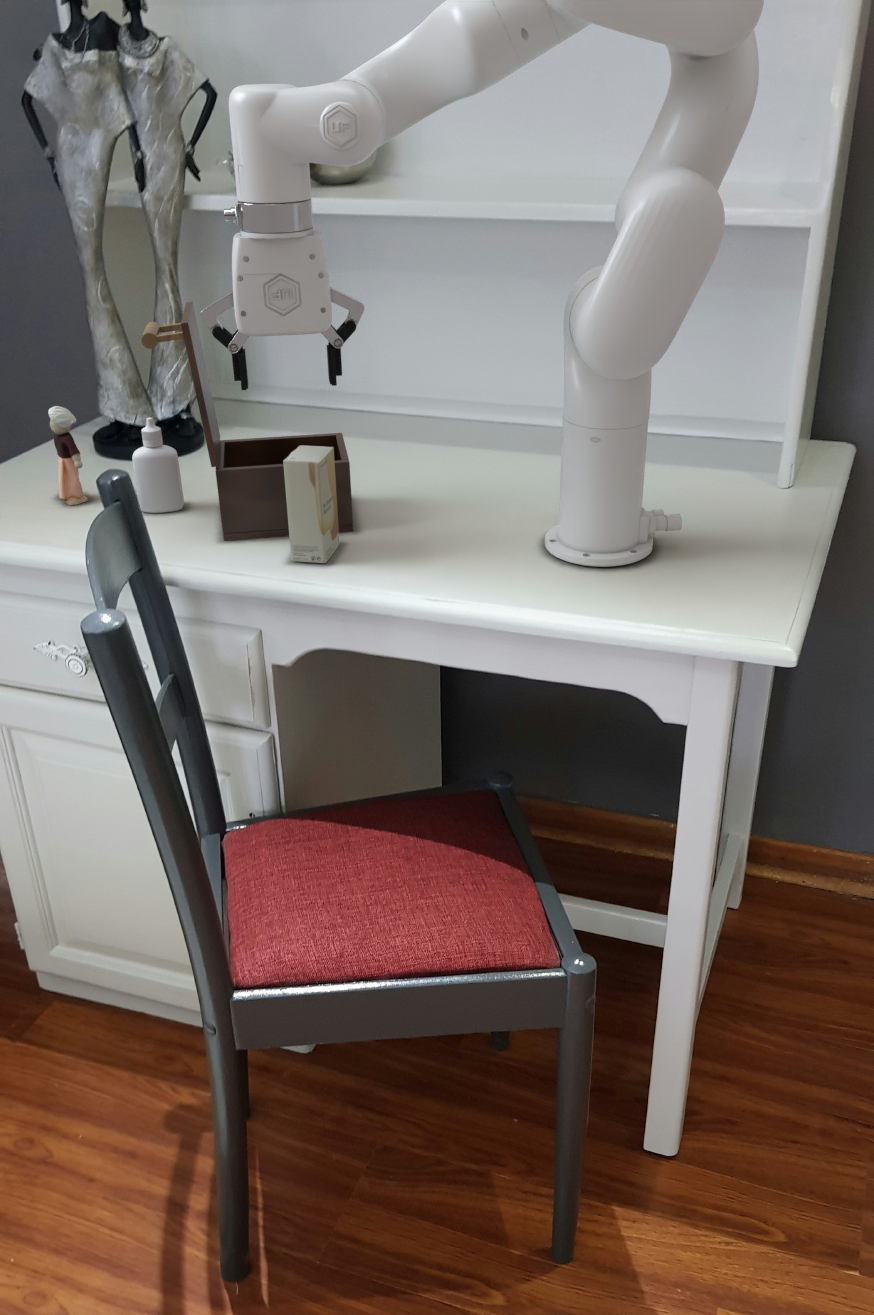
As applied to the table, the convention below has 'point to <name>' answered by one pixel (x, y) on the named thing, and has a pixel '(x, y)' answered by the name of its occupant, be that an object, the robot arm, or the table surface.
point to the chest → (271, 484)
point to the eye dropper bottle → (157, 473)
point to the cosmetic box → (311, 503)
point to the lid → (197, 371)
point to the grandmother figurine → (66, 456)
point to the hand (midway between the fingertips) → (289, 384)
